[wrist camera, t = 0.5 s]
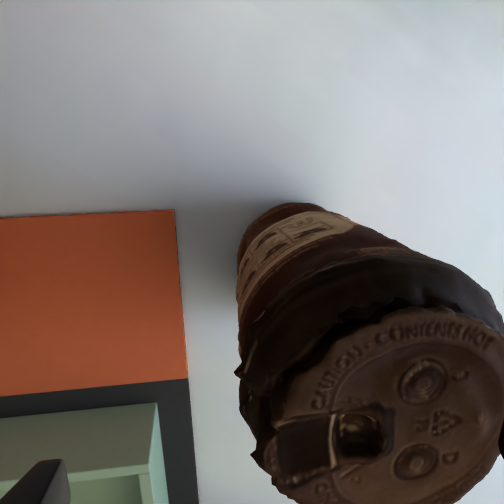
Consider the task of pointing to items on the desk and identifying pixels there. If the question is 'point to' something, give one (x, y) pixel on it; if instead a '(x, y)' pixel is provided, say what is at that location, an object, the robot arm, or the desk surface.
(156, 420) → the open storage box
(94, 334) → the placemat
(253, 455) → the coffee cup
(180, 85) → the desk surface
